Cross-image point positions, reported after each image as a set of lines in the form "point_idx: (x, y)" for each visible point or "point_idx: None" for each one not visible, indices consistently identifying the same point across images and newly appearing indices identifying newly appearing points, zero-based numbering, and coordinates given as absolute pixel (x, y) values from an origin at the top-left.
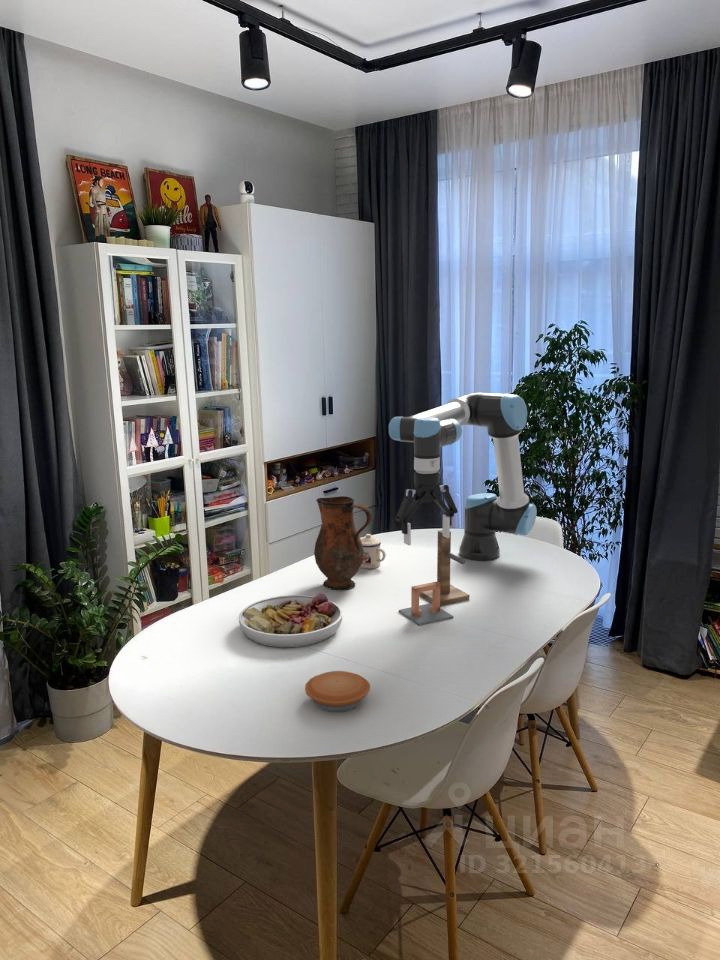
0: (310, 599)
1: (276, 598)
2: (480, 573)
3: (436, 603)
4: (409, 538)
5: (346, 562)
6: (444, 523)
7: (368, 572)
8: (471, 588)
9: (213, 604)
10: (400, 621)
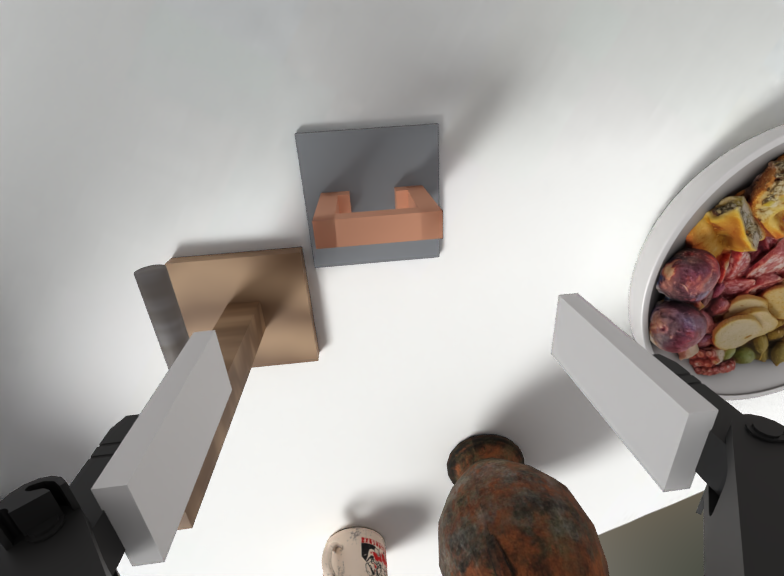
0: None
1: (735, 393)
2: (55, 427)
3: (334, 198)
4: (599, 320)
5: (532, 491)
6: (187, 454)
7: (377, 509)
8: (129, 335)
9: None
10: (472, 183)
